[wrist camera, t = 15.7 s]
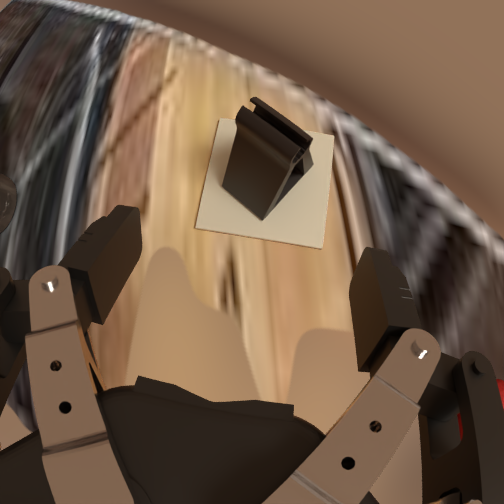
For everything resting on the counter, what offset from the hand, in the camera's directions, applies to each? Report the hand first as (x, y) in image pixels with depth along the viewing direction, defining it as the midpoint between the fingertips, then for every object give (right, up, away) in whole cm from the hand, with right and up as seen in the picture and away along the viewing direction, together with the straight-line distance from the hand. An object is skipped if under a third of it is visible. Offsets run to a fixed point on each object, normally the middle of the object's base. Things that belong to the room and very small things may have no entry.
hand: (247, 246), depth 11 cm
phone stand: (+2, +8, +25) cm, 27 cm away
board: (+2, +8, +25) cm, 27 cm away
